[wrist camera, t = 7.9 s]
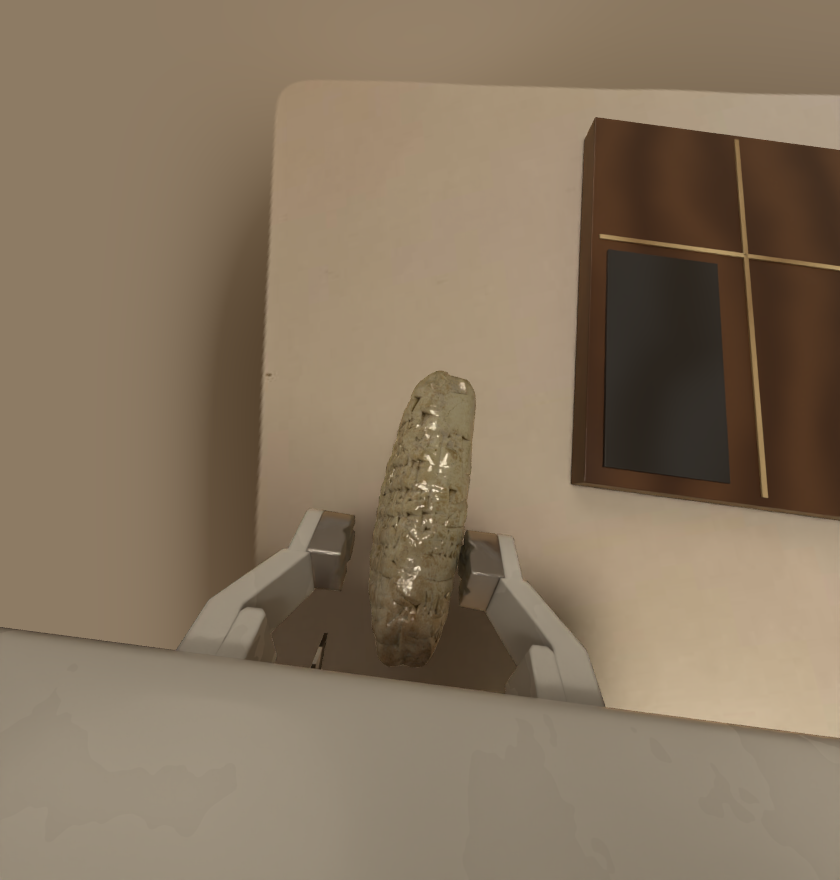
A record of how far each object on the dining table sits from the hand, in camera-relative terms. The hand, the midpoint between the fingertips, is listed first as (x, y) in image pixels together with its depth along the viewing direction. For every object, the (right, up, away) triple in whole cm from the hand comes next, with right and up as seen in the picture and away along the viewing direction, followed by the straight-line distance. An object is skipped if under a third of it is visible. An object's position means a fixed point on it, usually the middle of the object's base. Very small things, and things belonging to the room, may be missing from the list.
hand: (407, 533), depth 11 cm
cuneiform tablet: (-1, -1, +5) cm, 5 cm away
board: (+32, +10, +11) cm, 35 cm away
